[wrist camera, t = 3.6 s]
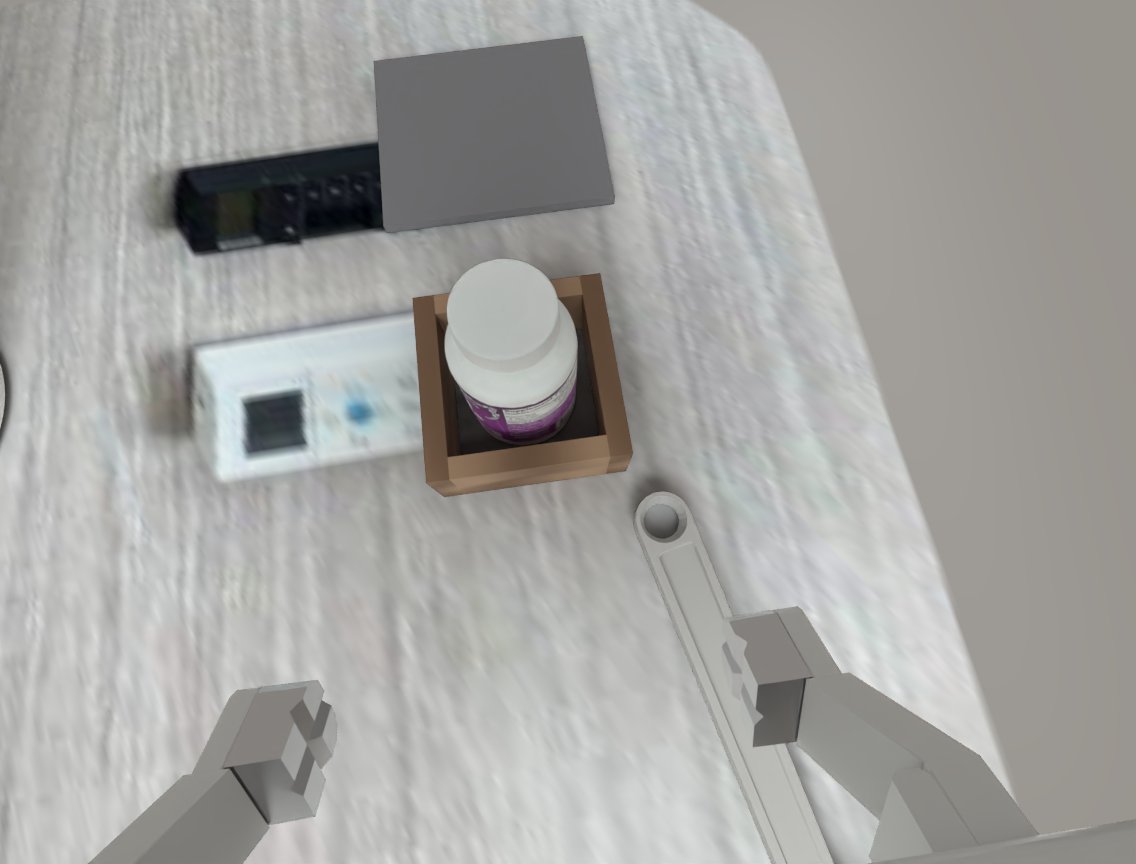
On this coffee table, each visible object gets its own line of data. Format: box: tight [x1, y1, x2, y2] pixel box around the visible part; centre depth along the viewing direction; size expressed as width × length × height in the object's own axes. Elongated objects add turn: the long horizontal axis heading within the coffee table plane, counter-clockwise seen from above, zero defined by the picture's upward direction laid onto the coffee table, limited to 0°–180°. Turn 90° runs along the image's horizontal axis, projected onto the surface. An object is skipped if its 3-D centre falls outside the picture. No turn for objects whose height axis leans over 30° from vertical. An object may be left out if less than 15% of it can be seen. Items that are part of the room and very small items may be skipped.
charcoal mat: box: [374, 36, 615, 233], centre depth 33 cm, size 13×12×1 cm
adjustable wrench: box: [634, 491, 834, 864], centre depth 24 cm, size 25×6×2 cm, turn 15°
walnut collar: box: [413, 273, 633, 497], centre depth 27 cm, size 9×9×4 cm
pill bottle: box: [445, 259, 578, 445], centre depth 24 cm, size 5×5×10 cm
